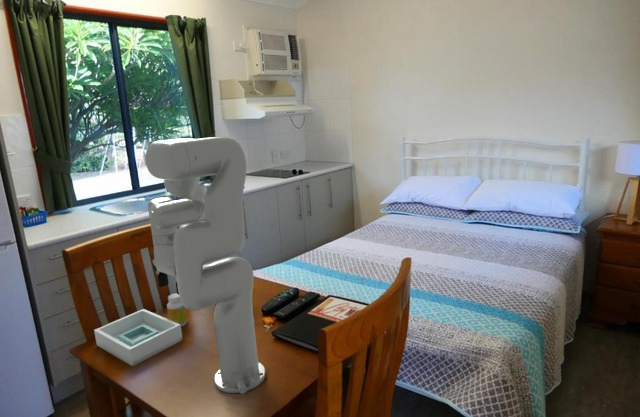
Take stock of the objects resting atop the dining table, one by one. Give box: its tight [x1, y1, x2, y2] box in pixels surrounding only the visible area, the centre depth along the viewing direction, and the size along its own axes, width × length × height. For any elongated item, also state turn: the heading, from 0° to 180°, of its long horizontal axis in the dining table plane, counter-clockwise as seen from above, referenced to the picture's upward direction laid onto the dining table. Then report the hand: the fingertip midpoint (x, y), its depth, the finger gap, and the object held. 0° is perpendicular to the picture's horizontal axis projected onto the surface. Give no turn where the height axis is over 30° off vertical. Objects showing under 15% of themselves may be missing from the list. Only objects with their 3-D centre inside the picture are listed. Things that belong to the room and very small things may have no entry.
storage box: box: [93, 308, 184, 367], centre depth 130 cm, size 20×16×5 cm
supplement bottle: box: [166, 292, 188, 327], centre depth 139 cm, size 5×5×10 cm
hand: (172, 289), depth 138 cm, fingers open, 9 cm apart
